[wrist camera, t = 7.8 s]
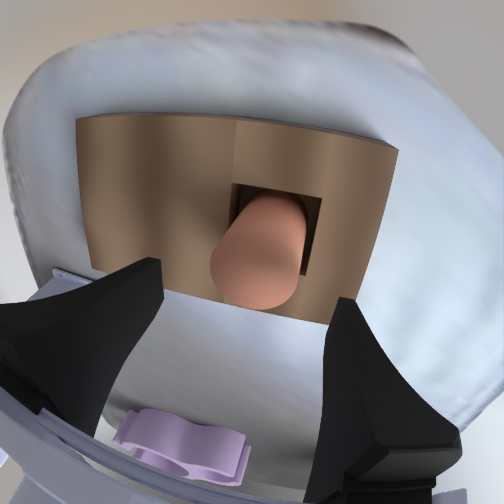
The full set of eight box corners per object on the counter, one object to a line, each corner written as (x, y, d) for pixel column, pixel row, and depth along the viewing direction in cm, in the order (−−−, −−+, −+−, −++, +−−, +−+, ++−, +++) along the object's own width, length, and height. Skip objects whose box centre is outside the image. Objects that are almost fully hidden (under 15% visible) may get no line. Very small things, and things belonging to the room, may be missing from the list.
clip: (238, 420, 34) (224, 465, 28) (257, 456, 39) (247, 491, 33) (121, 400, 40) (102, 432, 34) (154, 437, 45) (140, 465, 39)
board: (111, 251, 24) (92, 268, 22) (102, 114, 19) (75, 119, 16) (343, 301, 22) (344, 327, 19) (386, 142, 16) (398, 149, 13)
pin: (244, 238, 20) (209, 299, 14) (249, 182, 18) (210, 224, 12) (302, 249, 20) (290, 316, 14) (312, 192, 18) (305, 241, 12)
